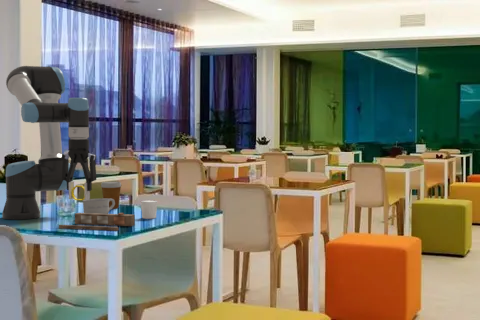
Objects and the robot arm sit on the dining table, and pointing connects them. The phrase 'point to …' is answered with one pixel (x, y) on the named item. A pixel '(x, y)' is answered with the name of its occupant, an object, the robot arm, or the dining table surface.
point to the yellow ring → (74, 189)
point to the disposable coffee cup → (111, 192)
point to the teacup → (98, 205)
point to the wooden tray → (101, 221)
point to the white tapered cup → (149, 209)
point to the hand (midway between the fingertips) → (79, 199)
